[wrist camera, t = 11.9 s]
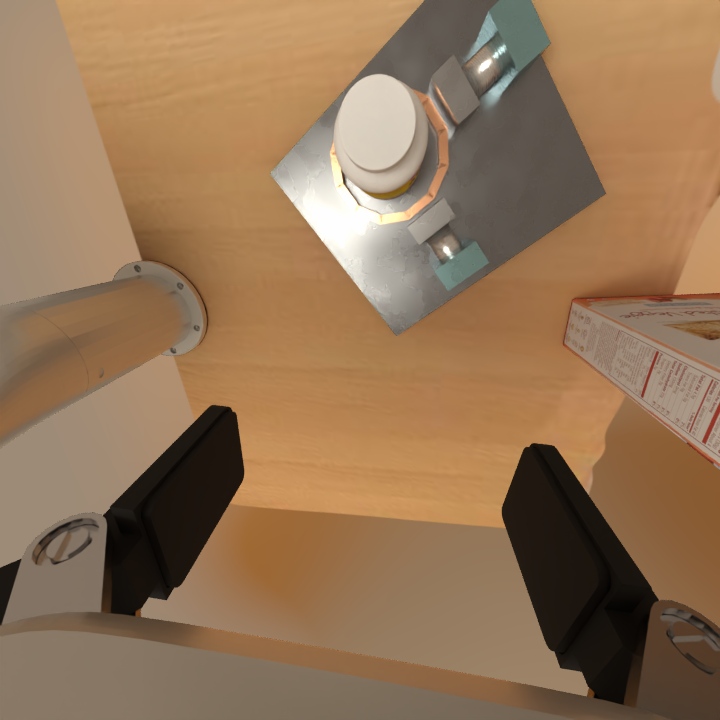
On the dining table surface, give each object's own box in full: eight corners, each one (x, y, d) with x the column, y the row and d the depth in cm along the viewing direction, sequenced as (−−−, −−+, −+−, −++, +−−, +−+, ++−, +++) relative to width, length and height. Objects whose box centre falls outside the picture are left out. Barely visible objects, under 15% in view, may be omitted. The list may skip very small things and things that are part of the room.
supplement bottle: (416, 202, 31) (424, 192, 19) (351, 198, 31) (321, 187, 20) (426, 119, 28) (442, 51, 16) (354, 117, 28) (321, 49, 17)
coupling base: (396, 333, 38) (395, 348, 33) (273, 174, 32) (252, 167, 28) (599, 194, 29) (635, 190, 25) (480, -55, 24) (499, -119, 19)
